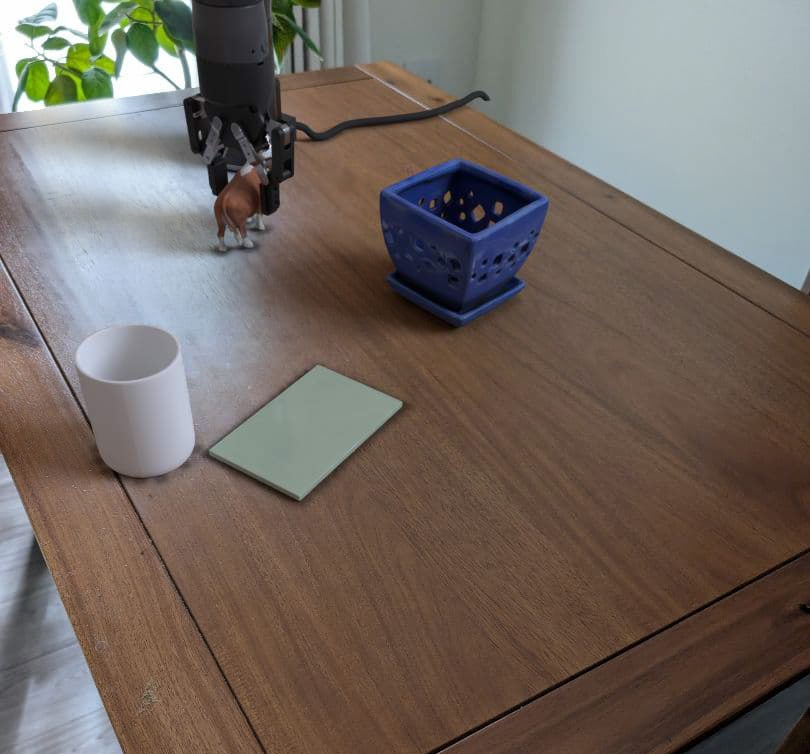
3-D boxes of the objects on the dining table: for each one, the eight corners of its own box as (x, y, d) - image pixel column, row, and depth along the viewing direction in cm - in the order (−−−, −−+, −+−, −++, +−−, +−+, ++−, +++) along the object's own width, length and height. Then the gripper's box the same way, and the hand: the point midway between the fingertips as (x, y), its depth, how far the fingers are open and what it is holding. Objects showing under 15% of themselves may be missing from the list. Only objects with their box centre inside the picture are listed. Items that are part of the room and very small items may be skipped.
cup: (93, 481, 73) (64, 383, 65) (112, 394, 81) (89, 299, 73) (193, 479, 73) (176, 382, 66) (202, 393, 82) (187, 298, 74)
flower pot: (537, 299, 96) (556, 195, 88) (461, 345, 89) (473, 237, 81) (448, 254, 102) (458, 153, 94) (370, 294, 95) (373, 189, 87)
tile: (318, 369, 85) (317, 364, 85) (402, 406, 82) (402, 401, 81) (209, 455, 76) (208, 450, 75) (299, 501, 72) (299, 496, 72)
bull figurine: (289, 213, 107) (286, 147, 101) (240, 263, 98) (233, 194, 92) (257, 206, 108) (252, 140, 102) (206, 255, 99) (197, 186, 93)
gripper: (154, 40, 89) (176, 196, 101) (262, 73, 84) (272, 234, 96) (204, 23, 93) (220, 175, 105) (309, 54, 88) (313, 210, 100)
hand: (245, 203), depth 100 cm, fingers open, 7 cm apart
